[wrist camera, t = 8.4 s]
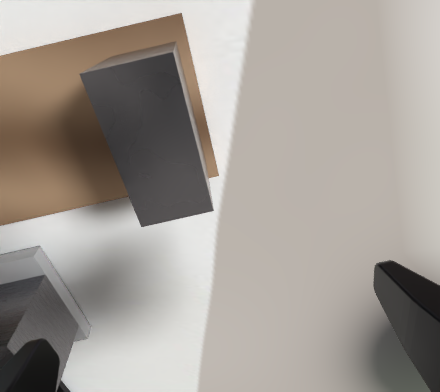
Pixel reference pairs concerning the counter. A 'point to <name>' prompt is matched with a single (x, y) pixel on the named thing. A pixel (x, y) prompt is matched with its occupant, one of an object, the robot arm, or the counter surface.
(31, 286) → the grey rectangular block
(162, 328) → the counter surface
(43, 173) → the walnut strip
